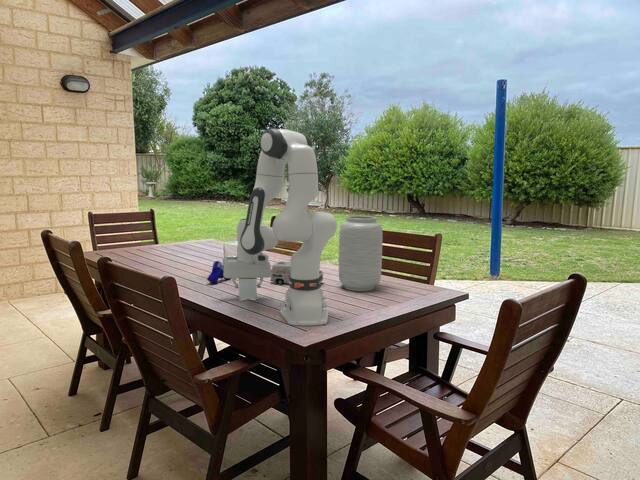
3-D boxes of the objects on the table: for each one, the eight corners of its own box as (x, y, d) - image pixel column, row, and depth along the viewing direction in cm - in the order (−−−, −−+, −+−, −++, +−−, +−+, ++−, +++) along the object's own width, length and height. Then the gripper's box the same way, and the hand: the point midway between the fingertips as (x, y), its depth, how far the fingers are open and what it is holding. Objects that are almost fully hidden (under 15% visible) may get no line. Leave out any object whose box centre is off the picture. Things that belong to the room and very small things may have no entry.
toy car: (319, 287, 219) (320, 267, 218) (269, 284, 224) (269, 264, 222) (324, 282, 229) (324, 263, 228) (276, 279, 234) (276, 260, 233)
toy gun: (205, 278, 221) (214, 260, 225) (220, 290, 231) (228, 272, 236) (212, 279, 219) (220, 261, 223) (227, 291, 229) (234, 273, 234)
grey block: (256, 298, 198) (256, 278, 196) (239, 299, 197) (238, 279, 195) (256, 293, 205) (256, 273, 203) (239, 293, 204) (239, 274, 202)
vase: (346, 294, 207) (347, 219, 203) (332, 283, 227) (334, 215, 222) (387, 291, 213) (390, 219, 208) (371, 281, 232) (373, 215, 227)
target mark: (262, 298, 199) (262, 297, 199) (247, 302, 192) (247, 302, 192) (248, 294, 204) (248, 294, 204) (232, 298, 197) (232, 298, 197)
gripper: (221, 257, 191) (222, 290, 193) (271, 257, 194) (271, 289, 196) (223, 254, 197) (223, 286, 199) (271, 254, 200) (271, 285, 202)
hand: (247, 287), depth 197 cm, fingers open, 8 cm apart
